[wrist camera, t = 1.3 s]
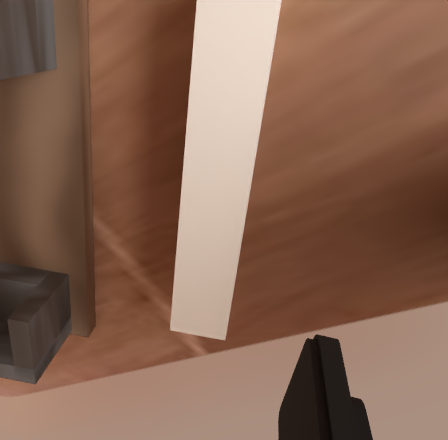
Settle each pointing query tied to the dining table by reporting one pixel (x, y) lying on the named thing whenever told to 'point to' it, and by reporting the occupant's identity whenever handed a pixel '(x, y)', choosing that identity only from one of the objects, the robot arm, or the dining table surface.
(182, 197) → the slat
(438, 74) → the dining table surface
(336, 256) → the dining table surface
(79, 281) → the end cap frame
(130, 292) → the dining table surface
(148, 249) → the dining table surface
